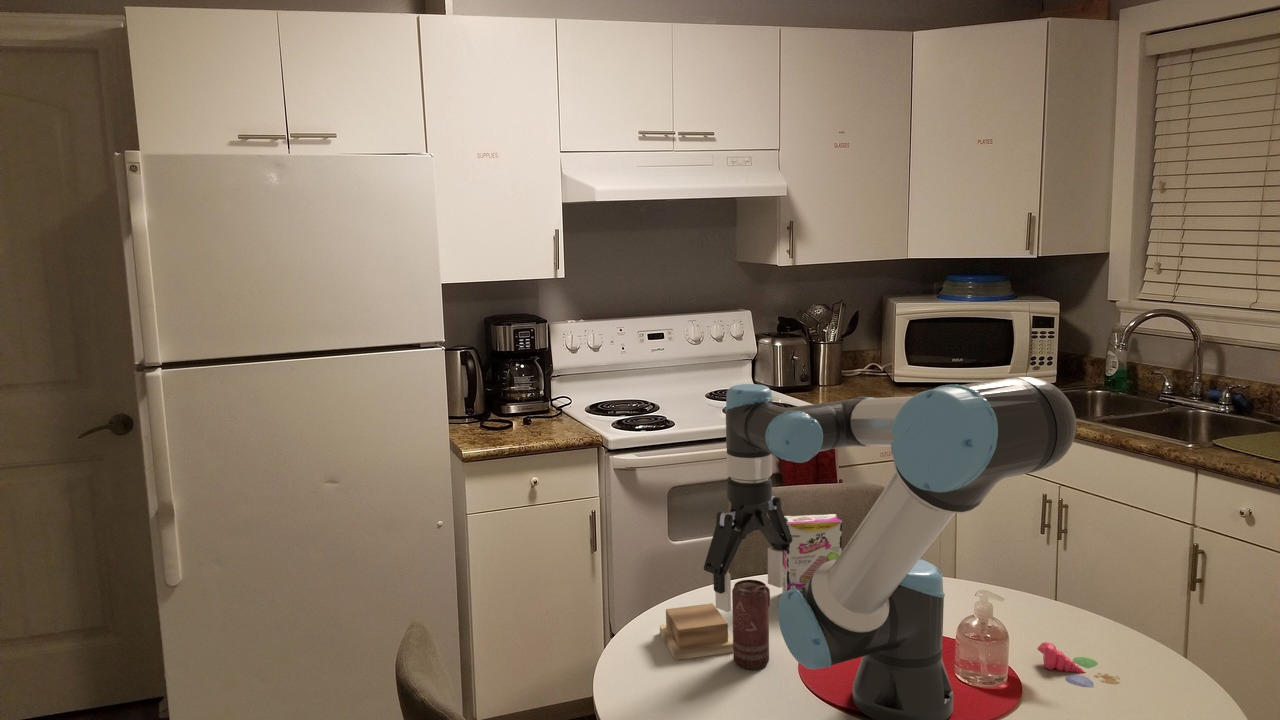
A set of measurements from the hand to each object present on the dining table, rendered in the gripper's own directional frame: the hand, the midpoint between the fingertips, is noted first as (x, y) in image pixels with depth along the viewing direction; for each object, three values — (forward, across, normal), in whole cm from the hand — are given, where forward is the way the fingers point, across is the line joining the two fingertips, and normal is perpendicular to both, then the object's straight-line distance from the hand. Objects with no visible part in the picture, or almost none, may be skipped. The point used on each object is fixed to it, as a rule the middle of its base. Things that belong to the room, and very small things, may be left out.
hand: (750, 597), depth 157 cm
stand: (+12, +1, -12) cm, 17 cm away
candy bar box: (+12, -30, -9) cm, 33 cm away
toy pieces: (+12, -34, +42) cm, 55 cm away
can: (+12, 0, 0) cm, 12 cm away
